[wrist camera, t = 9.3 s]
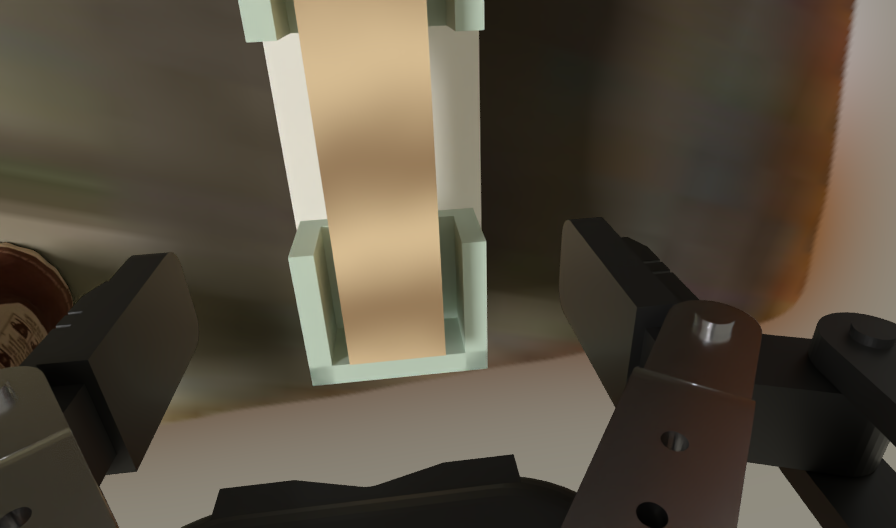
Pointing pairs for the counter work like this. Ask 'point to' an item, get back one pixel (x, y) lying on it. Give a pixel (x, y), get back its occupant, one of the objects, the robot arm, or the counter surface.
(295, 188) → the bracket stand
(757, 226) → the counter surface
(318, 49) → the tan rectangular bar
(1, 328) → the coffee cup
